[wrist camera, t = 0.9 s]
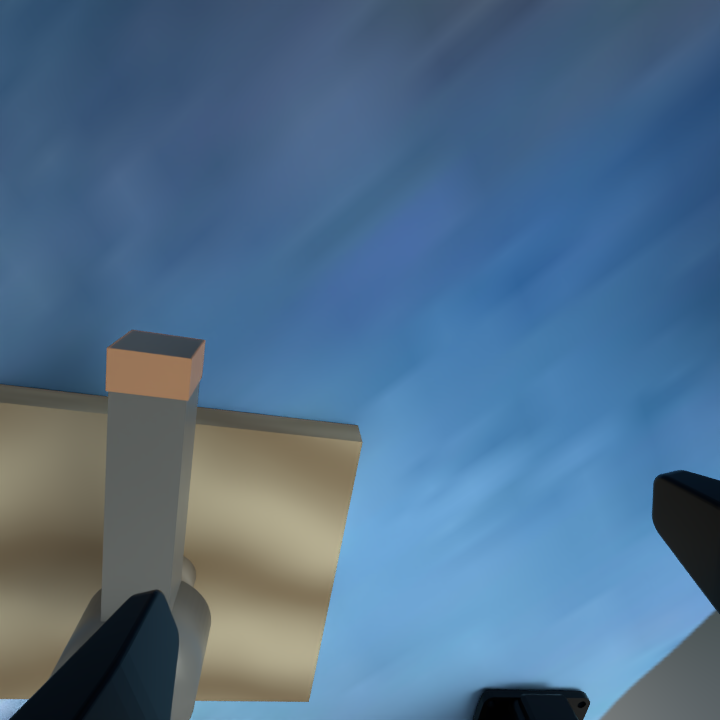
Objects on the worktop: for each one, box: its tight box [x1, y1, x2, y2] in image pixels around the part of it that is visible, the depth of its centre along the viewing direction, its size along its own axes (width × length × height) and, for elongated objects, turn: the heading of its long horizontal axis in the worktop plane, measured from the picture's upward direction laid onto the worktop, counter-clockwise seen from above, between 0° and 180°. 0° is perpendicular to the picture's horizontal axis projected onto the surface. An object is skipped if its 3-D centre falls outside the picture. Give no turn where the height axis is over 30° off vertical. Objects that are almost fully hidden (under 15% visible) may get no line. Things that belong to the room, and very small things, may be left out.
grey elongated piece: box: [49, 330, 211, 720], centre depth 14 cm, size 13×4×3 cm, turn 170°
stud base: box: [0, 384, 362, 702], centre depth 19 cm, size 14×14×4 cm
